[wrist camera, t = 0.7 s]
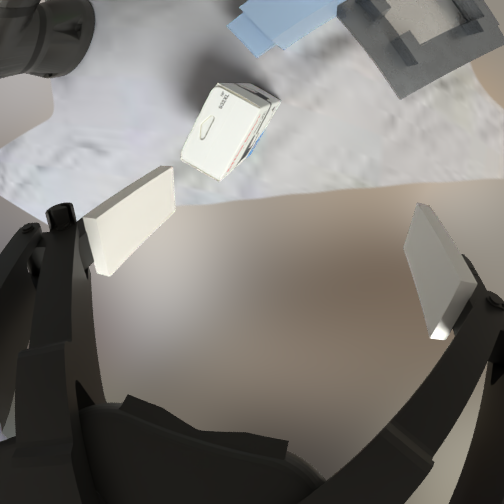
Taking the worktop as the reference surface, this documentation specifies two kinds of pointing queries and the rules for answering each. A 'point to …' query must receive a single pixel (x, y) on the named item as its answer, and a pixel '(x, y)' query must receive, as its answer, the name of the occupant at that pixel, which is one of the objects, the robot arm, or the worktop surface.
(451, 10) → the chassis pocket
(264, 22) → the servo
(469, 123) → the worktop surface
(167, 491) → the robot arm
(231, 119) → the ink box
